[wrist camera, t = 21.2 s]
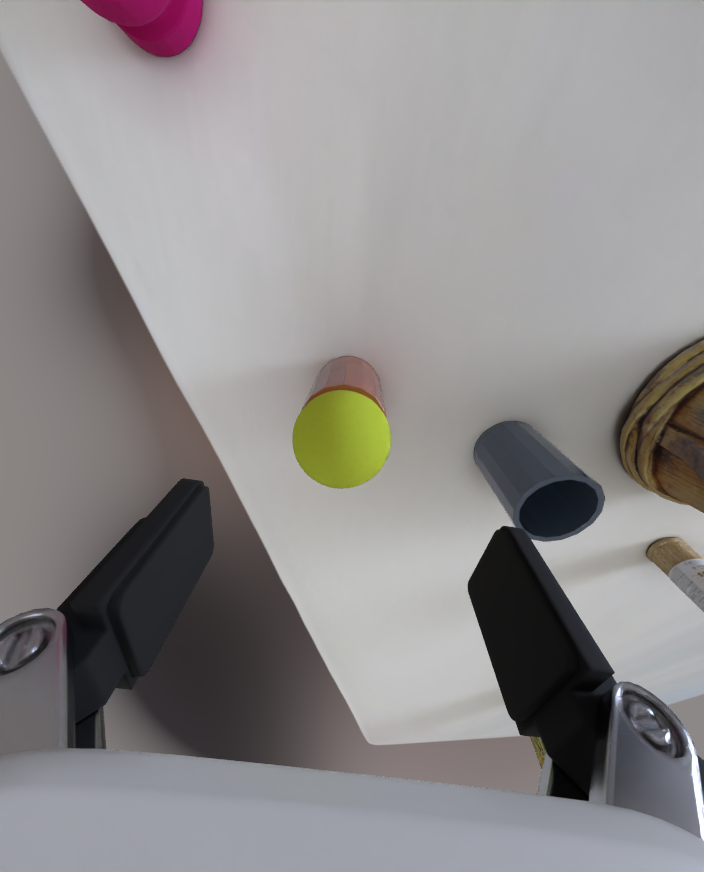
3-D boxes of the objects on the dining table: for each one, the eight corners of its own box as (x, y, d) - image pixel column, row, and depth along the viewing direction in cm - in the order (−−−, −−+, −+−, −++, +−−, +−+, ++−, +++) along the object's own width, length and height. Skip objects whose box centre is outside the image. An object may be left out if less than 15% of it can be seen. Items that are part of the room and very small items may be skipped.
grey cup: (541, 415, 31) (612, 469, 23) (535, 470, 35) (595, 536, 26) (473, 426, 32) (516, 481, 23) (473, 478, 35) (511, 545, 26)
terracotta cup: (375, 350, 29) (380, 377, 21) (384, 412, 32) (392, 457, 24) (308, 362, 29) (289, 393, 22) (323, 422, 32) (311, 469, 24)
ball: (380, 370, 22) (387, 404, 16) (392, 448, 25) (401, 502, 19) (291, 385, 23) (266, 424, 17) (313, 460, 26) (298, 515, 20)
